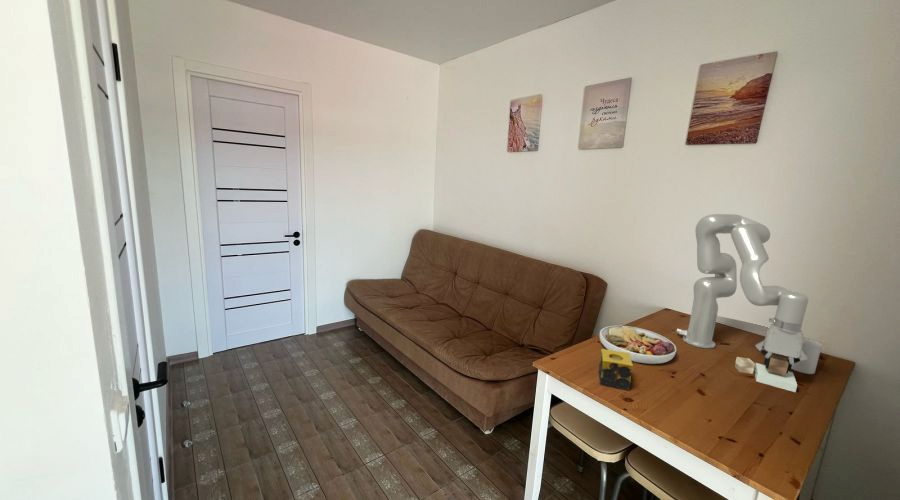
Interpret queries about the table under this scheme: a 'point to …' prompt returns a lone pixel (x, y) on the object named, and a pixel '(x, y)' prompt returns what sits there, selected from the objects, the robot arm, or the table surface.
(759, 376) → the plate
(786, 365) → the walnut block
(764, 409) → the table surface
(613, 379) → the yellow black cube
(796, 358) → the robot arm
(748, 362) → the birch block
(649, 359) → the bowl
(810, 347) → the white cylinder
